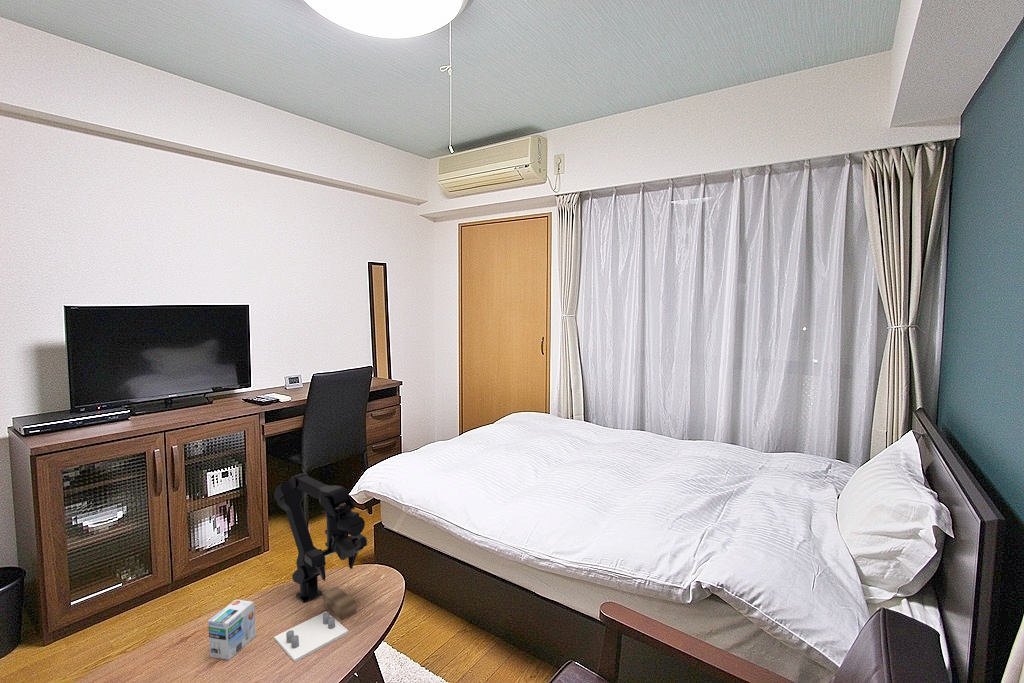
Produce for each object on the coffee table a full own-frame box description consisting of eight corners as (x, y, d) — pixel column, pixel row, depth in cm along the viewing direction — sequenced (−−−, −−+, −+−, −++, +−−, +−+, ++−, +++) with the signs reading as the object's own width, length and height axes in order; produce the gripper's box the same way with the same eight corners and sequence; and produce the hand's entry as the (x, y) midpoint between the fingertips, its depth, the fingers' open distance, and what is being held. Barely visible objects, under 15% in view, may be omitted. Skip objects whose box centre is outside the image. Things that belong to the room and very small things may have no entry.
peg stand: (274, 639, 143) (273, 628, 142) (326, 613, 154) (325, 603, 154) (294, 662, 133) (294, 651, 133) (348, 633, 145) (347, 622, 145)
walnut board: (323, 606, 159) (322, 592, 158) (337, 599, 162) (336, 586, 162) (341, 621, 151) (341, 607, 150) (356, 613, 155) (355, 600, 154)
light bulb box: (229, 661, 134) (227, 624, 133) (208, 657, 136) (206, 621, 135) (257, 635, 145) (255, 600, 144) (237, 632, 146) (235, 598, 145)
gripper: (319, 547, 142) (321, 597, 143) (375, 525, 156) (376, 572, 157) (302, 534, 150) (304, 582, 151) (357, 515, 163) (359, 559, 165)
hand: (337, 574), depth 156 cm, fingers open, 9 cm apart
